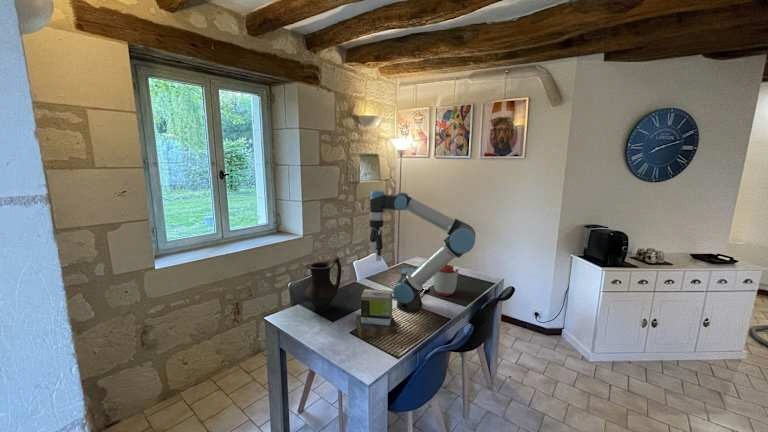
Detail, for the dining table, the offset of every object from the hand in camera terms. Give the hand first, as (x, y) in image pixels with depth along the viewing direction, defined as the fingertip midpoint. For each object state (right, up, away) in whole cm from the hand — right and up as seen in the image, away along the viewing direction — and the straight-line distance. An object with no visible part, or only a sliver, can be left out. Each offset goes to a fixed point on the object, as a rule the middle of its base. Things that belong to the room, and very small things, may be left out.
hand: (375, 256), depth 176 cm
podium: (0, -35, -11) cm, 37 cm away
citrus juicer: (+45, -28, +34) cm, 64 cm away
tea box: (+1, -31, -12) cm, 33 cm away
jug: (-31, -31, +9) cm, 44 cm away
